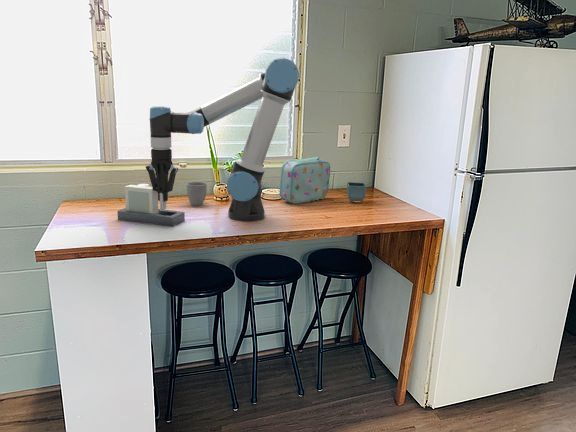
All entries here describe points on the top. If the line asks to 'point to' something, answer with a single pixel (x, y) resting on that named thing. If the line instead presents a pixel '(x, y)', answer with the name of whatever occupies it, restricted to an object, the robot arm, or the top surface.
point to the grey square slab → (141, 199)
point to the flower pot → (356, 191)
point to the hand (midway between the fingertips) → (163, 209)
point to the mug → (196, 192)
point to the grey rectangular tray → (153, 217)
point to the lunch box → (304, 180)
